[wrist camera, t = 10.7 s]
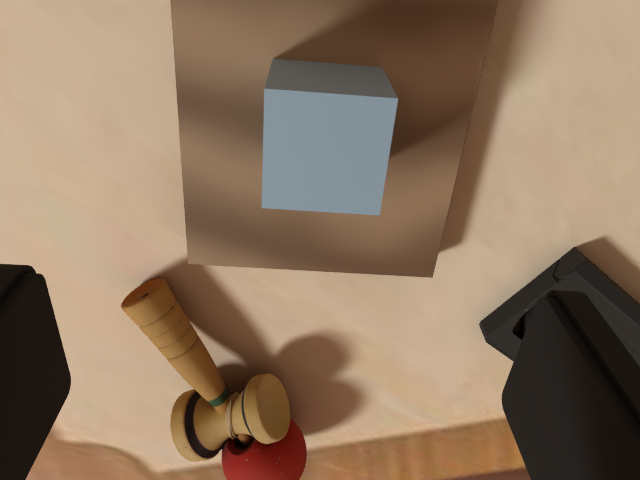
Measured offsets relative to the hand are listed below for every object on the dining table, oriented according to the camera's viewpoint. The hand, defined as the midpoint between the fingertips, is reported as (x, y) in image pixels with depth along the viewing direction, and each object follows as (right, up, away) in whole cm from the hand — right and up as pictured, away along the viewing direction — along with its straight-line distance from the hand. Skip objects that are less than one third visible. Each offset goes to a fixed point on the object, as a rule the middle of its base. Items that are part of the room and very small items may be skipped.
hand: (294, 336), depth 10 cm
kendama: (-6, -7, +26) cm, 28 cm away
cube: (+1, +8, +15) cm, 17 cm away
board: (+1, +9, +16) cm, 19 cm away
